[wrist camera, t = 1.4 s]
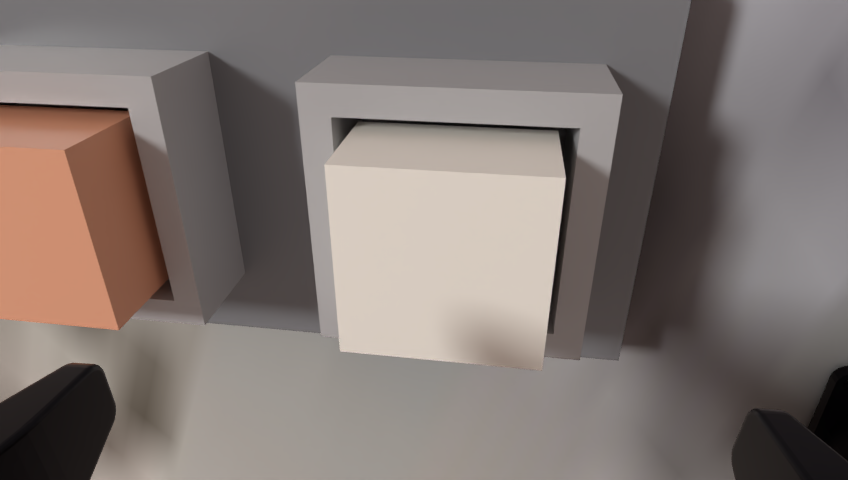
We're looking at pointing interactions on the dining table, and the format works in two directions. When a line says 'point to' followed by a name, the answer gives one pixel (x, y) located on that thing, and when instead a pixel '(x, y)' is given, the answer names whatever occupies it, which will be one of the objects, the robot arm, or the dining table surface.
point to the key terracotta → (74, 218)
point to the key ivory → (445, 241)
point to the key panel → (338, 114)
